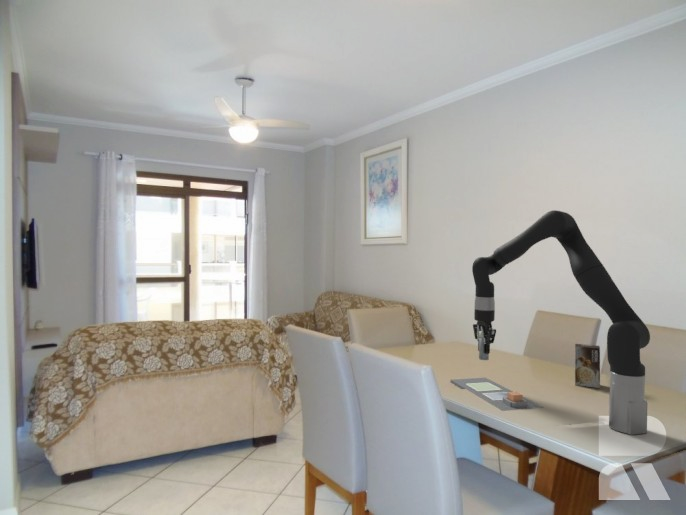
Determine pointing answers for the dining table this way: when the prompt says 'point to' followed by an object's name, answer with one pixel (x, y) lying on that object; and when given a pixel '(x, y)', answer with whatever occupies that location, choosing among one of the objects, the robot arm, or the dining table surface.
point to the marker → (482, 348)
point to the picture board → (493, 393)
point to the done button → (514, 396)
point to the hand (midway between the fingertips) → (483, 352)
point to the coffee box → (587, 365)
